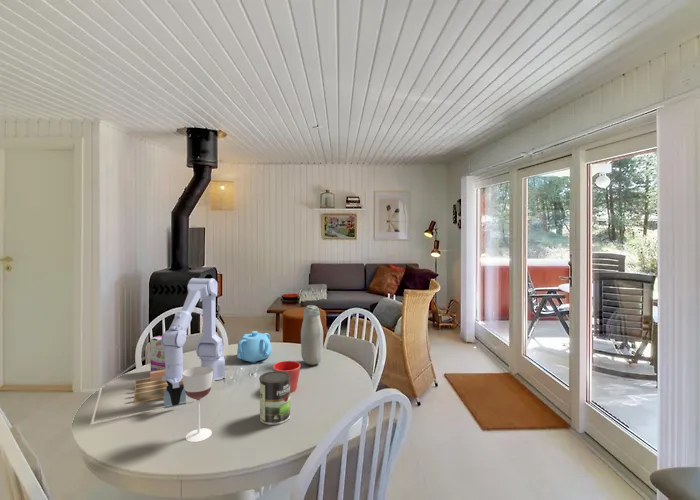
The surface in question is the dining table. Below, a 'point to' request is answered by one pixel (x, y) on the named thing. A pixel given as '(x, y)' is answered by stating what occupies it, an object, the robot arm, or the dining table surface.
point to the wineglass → (198, 396)
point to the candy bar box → (157, 354)
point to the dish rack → (150, 390)
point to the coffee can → (274, 397)
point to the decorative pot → (254, 347)
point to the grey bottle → (311, 336)
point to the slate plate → (168, 399)
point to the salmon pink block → (157, 375)
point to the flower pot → (289, 371)
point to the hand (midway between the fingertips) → (174, 400)
